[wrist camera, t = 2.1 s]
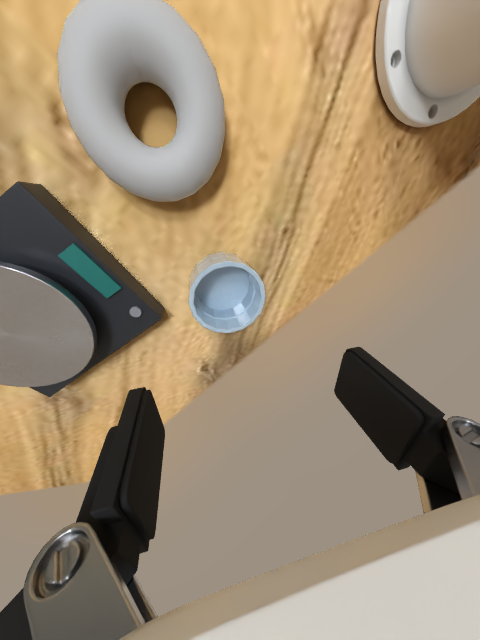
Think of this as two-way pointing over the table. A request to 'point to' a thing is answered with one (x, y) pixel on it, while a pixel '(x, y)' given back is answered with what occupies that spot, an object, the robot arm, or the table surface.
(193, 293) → the light blue cup
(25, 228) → the scale
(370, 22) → the table surface
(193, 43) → the donut
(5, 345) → the scale pan
